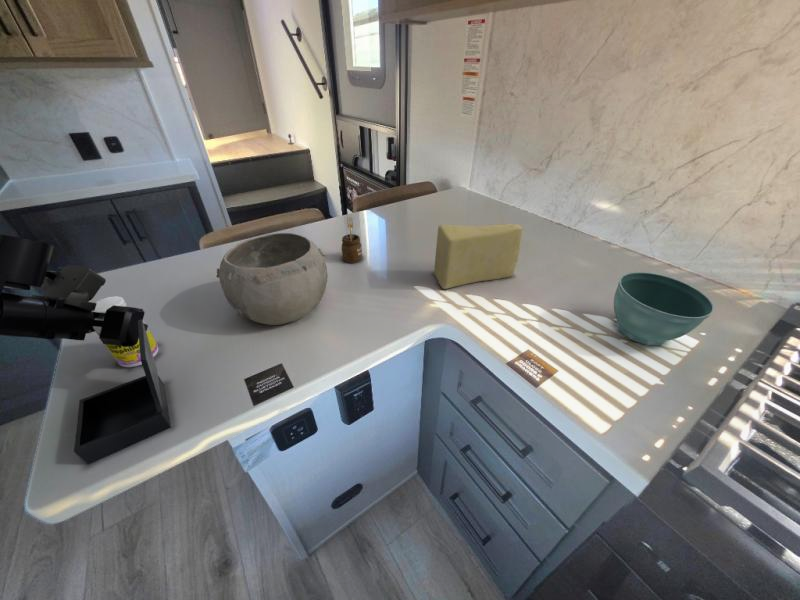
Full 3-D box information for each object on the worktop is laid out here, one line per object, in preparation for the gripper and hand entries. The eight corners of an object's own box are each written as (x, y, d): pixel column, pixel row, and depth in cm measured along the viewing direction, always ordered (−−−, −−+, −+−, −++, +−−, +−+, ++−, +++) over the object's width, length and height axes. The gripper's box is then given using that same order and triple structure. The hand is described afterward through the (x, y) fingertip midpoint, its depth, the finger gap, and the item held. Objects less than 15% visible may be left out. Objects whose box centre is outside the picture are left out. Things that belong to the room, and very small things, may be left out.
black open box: (88, 464, 45) (73, 451, 43) (91, 413, 52) (79, 400, 50) (170, 427, 50) (161, 413, 48) (164, 385, 57) (155, 371, 55)
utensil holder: (342, 264, 93) (338, 225, 86) (342, 254, 98) (339, 217, 91) (362, 263, 94) (360, 225, 87) (362, 253, 99) (359, 216, 92)
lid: (140, 359, 42) (146, 358, 43) (137, 320, 49) (142, 319, 49) (157, 413, 48) (162, 411, 48) (152, 370, 54) (157, 369, 55)
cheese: (504, 266, 94) (516, 218, 85) (520, 284, 86) (534, 233, 77) (432, 272, 91) (437, 222, 82) (441, 290, 83) (448, 238, 74)
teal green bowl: (700, 363, 64) (735, 322, 57) (614, 352, 66) (639, 311, 59) (661, 314, 77) (685, 276, 70) (590, 306, 79) (608, 268, 72)
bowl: (301, 270, 90) (292, 219, 81) (350, 305, 77) (345, 249, 68) (217, 302, 77) (195, 246, 68) (258, 351, 64) (237, 290, 55)
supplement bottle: (114, 373, 59) (74, 319, 51) (124, 349, 64) (89, 297, 56) (156, 363, 61) (123, 310, 53) (163, 341, 66) (133, 290, 58)
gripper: (102, 266, 45) (185, 288, 60) (-13, 256, 46) (96, 280, 62) (82, 345, 43) (172, 347, 58) (-37, 331, 44) (81, 337, 60)
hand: (130, 326), depth 59 cm, fingers closed on supplement bottle, 6 cm apart
